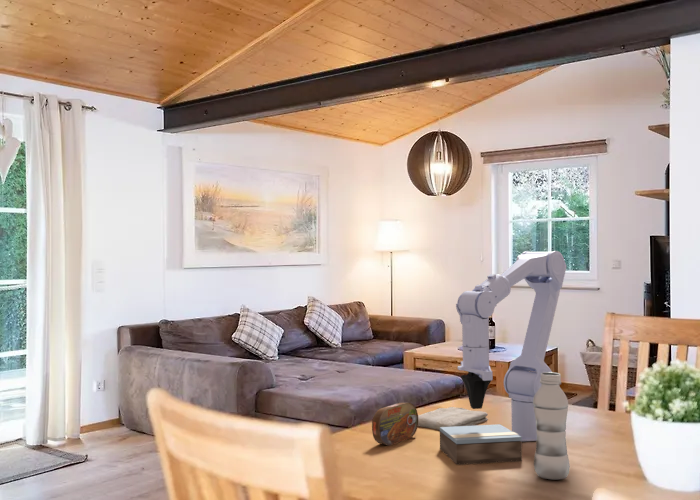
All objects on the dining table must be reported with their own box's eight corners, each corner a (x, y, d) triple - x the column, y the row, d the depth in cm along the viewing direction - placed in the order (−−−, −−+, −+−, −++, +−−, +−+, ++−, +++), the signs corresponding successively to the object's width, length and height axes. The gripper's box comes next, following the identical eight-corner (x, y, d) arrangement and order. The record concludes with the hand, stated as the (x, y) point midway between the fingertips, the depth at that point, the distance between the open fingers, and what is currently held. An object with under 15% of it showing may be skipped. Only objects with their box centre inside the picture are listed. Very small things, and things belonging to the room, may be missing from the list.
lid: (500, 427, 163) (500, 423, 163) (521, 440, 151) (521, 436, 151) (439, 430, 161) (439, 426, 161) (456, 444, 149) (456, 439, 149)
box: (500, 445, 163) (500, 428, 163) (521, 460, 151) (521, 441, 151) (439, 449, 161) (439, 431, 161) (456, 464, 149) (456, 445, 149)
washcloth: (490, 421, 189) (490, 409, 189) (453, 435, 175) (453, 422, 175) (451, 415, 197) (450, 403, 197) (412, 427, 183) (412, 415, 183)
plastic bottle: (564, 485, 135) (563, 377, 135) (528, 480, 139) (528, 374, 139) (574, 476, 140) (573, 372, 141) (539, 471, 144) (538, 370, 144)
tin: (380, 449, 162) (380, 411, 162) (369, 446, 164) (369, 409, 164) (419, 435, 173) (419, 400, 173) (408, 433, 175) (408, 398, 175)
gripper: (447, 342, 166) (448, 402, 166) (469, 351, 151) (470, 416, 151) (477, 341, 167) (477, 400, 167) (501, 349, 153) (502, 414, 153)
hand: (476, 408), depth 159 cm, fingers closed
